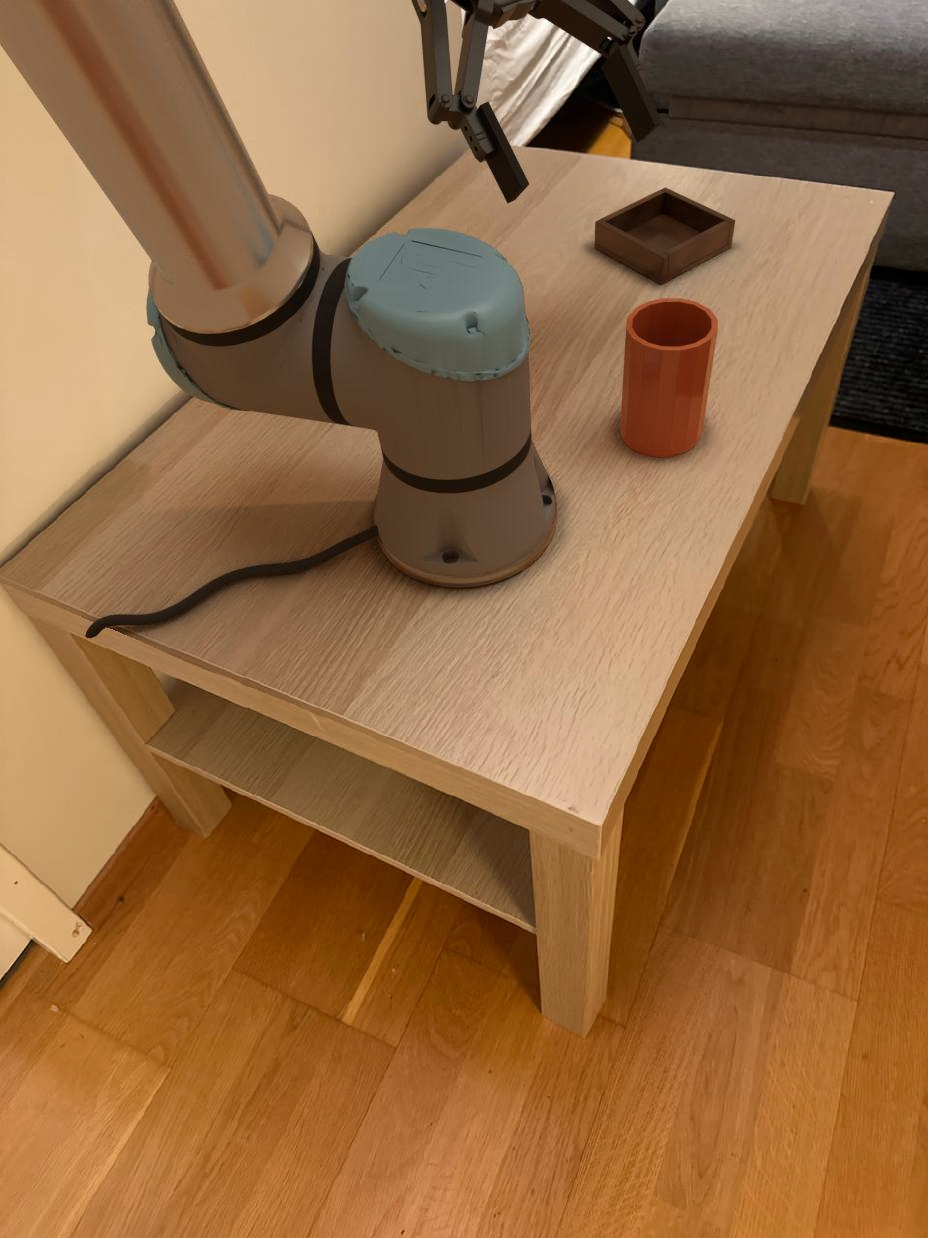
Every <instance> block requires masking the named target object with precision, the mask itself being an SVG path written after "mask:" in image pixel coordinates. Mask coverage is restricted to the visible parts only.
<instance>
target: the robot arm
mask: <svg viewBox="0 0 928 1238" xmlns="http://www.w3.org/2000/svg"><path fill="white" fill-rule="evenodd" d="M410 1H411V4H412V6H413V8H414V12H415V14H416V16H417V19H418V21H419V24H420V38H421V49H422V65H423V76H424V91H425V102H426V103H425V106H426V116H427V120H428V122H430V124H432V125H434V126H438V125H440V124H441V123H442V122H446V123H447V125H448V127H449V128H450V129H451V130H453V131H461V132H462V135H463V138H464V139H465V141H466V143H467V145H468V147H469V149H470V150H471V153H472V155H473V157H474V158H475V159H476V160H477V162H479V163H480V164H482V163H483V162H485V163H486V164H487V166H488V168H489V170H490V173H491V174H492V177H493V178H494V180H495V182H496V183H497V186H498V188H499V190H500V192H501V194H502V196H503V198H504V200H505V201H506V204H510V203H512V202H514V201H516V200H517V199H518V198H519V197H520V196H521V194H522V193H523V192H524V191H525V190H526V189H527V188H528V186H530V182H529V180H528V178H527V176H526V174H525V172H524V170H523V167H522V166H521V164H520V162H519V160H518V158H517V156H516V154H515V152H514V150H513V148H512V146H511V144H510V142H509V140H508V138H507V135H506V133H505V132H504V130H503V127H502V126H501V124H500V122H499V120H498V118H497V116H496V114H495V112H494V110H493V107H492V106H491V104H490V102H489V101H486V102H484V103H481V104H480V105H479V106H478V107H477V103H478V98H479V90H480V86H481V85H480V84H481V77H482V72H483V66H484V58H485V54H486V53H485V52H486V47H487V39H488V33H489V27H492V29H493V30H496V29H498V28H502V26H504V25H505V24H506V23H508V22H510V21H511V22H512V21H519V20H522V19H525V18H526V16H527V15H529V16H531V17H532V18H534V19H536V20H542V19H543V20H546V21H548V22H549V23H551V24H552V25H554V26H555V27H557V28H558V29H560V30H562V31H563V32H565V33H566V34H568V35H569V36H571V37H573V38H574V39H576V40H577V41H579V42H581V43H582V44H583V45H585V46H587V47H588V48H590V49H591V50H592V51H594V52H597V54H600V55H601V56H603V58H605V59H606V61H605V62H604V63H603V64H602V65H601V69H602V71H603V74H604V76H605V78H606V80H607V82H608V84H609V87H610V89H611V91H612V94H613V95H614V98H615V99H616V101H617V104H618V105H619V108H620V111H621V112H622V114H623V116H624V119H625V121H626V123H627V125H628V127H629V129H630V131H631V134H632V135H633V138H634V139H635V141H636V144H637V143H640V142H642V141H644V140H646V139H647V138H648V136H650V135H651V134H652V133H653V132H654V131H655V130H656V129H657V128H658V127H659V126H660V125H662V124H663V122H662V119H661V117H660V115H659V113H658V111H657V109H656V106H655V104H654V102H653V100H652V98H651V96H650V93H649V92H648V89H647V87H646V85H648V77H647V73H646V71H645V69H644V67H643V65H642V63H641V60H640V59H639V56H638V54H637V52H636V50H635V47H634V46H633V45H634V44H633V41H634V38H636V36H637V35H638V34H639V32H640V31H641V30H642V29H643V27H644V26H645V24H646V18H645V16H644V15H643V14H642V12H640V10H639V9H637V7H636V6H635V5H634V4H633V3H632V2H631V1H630V0H410ZM449 1H450V2H452V3H453V4H454V5H456V6H457V7H458V8H460V9H461V10H463V12H464V18H463V25H462V30H461V39H462V40H461V47H460V53H459V58H458V59H459V60H458V66H457V71H456V78H455V85H454V91H453V79H452V67H451V66H452V65H451V54H450V40H449V26H448V25H449V24H448V13H447V12H448V11H447V6H446V5H447V4H448V2H449ZM180 12H181V11H180V10H179V8H178V6H177V4H176V2H175V0H0V46H1V48H2V50H4V52H5V54H6V55H7V56H8V58H9V59H10V61H11V63H12V64H13V65H14V66H15V68H16V69H17V71H18V72H19V74H20V75H21V77H22V78H23V79H24V80H25V82H26V84H27V85H28V86H29V88H30V90H32V92H33V93H34V95H35V96H36V98H37V99H38V101H39V102H40V103H41V105H42V106H43V108H44V109H45V111H46V112H47V114H48V115H49V116H50V117H51V119H52V121H53V122H54V123H55V125H56V126H57V128H58V130H59V131H60V132H61V134H62V135H63V136H64V138H65V139H66V141H67V142H68V143H69V145H70V146H71V148H72V149H73V150H74V152H75V153H76V155H77V156H78V157H79V159H80V160H81V162H82V164H83V165H84V167H86V169H87V171H89V173H90V175H91V176H92V178H93V179H94V181H95V182H96V183H97V185H98V186H99V187H100V189H101V191H102V192H103V193H104V195H105V196H106V198H107V199H108V200H109V202H110V204H111V205H112V206H113V208H114V209H115V210H116V212H117V213H118V215H119V216H120V218H121V219H122V221H123V222H124V223H125V225H126V226H127V228H128V229H129V230H130V232H131V233H132V235H133V236H134V237H135V239H136V240H137V242H138V244H139V245H140V246H141V248H142V249H143V250H144V252H145V254H146V255H147V256H148V257H149V259H150V260H151V262H150V265H149V268H148V275H147V276H148V278H147V279H148V282H147V283H148V290H147V296H146V306H145V309H146V310H145V311H146V321H147V322H146V323H147V325H148V326H151V327H153V329H154V335H153V336H152V337H151V339H150V341H151V345H152V348H153V351H154V353H155V355H156V358H157V359H158V362H159V364H160V365H161V367H162V369H163V370H164V372H165V373H166V374H167V376H168V377H169V378H170V379H171V381H172V382H173V383H174V384H175V385H176V386H178V387H179V388H180V390H182V391H183V392H185V393H186V394H188V395H189V396H191V397H192V398H193V397H194V398H195V399H197V400H200V401H203V402H206V403H211V404H214V405H216V406H218V407H219V408H223V409H229V410H230V411H239V412H241V411H242V412H254V413H261V414H267V415H274V416H281V417H287V418H294V419H302V420H309V421H315V422H322V423H329V424H334V425H340V426H341V425H342V426H349V427H354V428H360V429H367V430H372V431H375V432H376V433H377V437H378V441H379V445H380V450H381V456H382V464H381V469H380V472H379V473H380V474H379V479H378V484H377V485H378V486H377V492H376V496H375V499H374V504H373V521H374V525H372V526H371V527H368V528H366V529H364V530H362V531H360V532H358V533H356V534H353V535H350V536H349V537H347V538H344V539H343V540H341V541H338V542H337V543H335V544H333V545H331V546H329V547H327V548H325V549H324V550H321V551H319V552H318V553H315V554H313V555H311V556H308V557H304V558H301V559H296V560H291V561H287V562H286V561H284V562H275V563H265V564H257V565H250V566H246V567H241V568H238V569H235V570H232V571H229V572H226V573H224V574H222V575H220V576H218V577H215V578H214V579H211V581H209V582H207V583H205V584H203V585H202V586H201V587H200V588H197V590H194V592H192V593H191V594H189V595H188V596H186V597H185V598H183V599H182V600H180V601H178V602H177V603H174V604H173V605H170V606H168V607H166V608H164V609H161V610H159V611H154V612H150V613H140V614H138V613H136V614H135V613H134V614H133V613H132V614H131V613H129V614H128V613H118V614H116V613H115V614H109V615H106V616H103V617H100V618H98V619H97V620H95V621H94V622H92V624H90V626H89V627H88V628H87V630H86V632H85V634H84V635H85V638H86V639H93V638H96V637H98V635H99V634H100V633H101V632H102V631H103V630H104V629H106V628H110V627H116V626H118V627H119V626H126V627H127V626H128V627H129V626H133V627H134V626H135V627H136V626H138V627H141V626H150V625H156V624H160V623H164V622H166V621H168V620H171V619H173V618H176V617H178V616H179V615H182V614H183V613H185V612H187V611H189V610H190V609H192V608H194V606H196V605H198V604H199V603H201V602H202V601H203V600H205V599H206V598H208V597H209V596H211V595H212V594H214V593H215V592H217V591H219V590H221V589H222V588H224V587H226V586H228V585H231V584H234V583H236V582H240V581H242V580H246V579H251V578H254V577H255V578H256V577H264V576H273V575H284V574H290V573H296V572H297V573H298V572H301V571H305V570H308V569H312V568H314V567H317V566H320V565H322V564H324V563H327V562H328V561H329V560H331V559H333V558H335V557H337V556H339V555H341V554H342V553H344V552H346V551H349V550H352V549H353V548H356V547H357V546H359V545H361V544H364V543H366V542H368V541H370V540H373V539H375V538H377V541H378V544H379V547H380V549H381V551H382V553H383V554H384V556H385V557H386V559H387V560H388V561H389V562H390V563H391V564H392V565H393V566H394V567H395V568H396V569H398V570H399V571H400V572H402V573H403V574H405V575H407V576H408V577H410V578H413V579H415V580H417V581H420V582H422V583H425V584H429V585H433V586H439V587H445V588H474V587H481V586H485V585H490V584H493V583H497V582H500V581H502V580H506V579H508V578H510V577H512V576H514V575H517V574H518V573H520V572H522V571H523V570H525V569H526V568H527V567H529V566H531V564H533V563H534V562H535V561H536V560H537V559H538V558H539V557H540V556H541V555H542V554H543V552H544V551H545V550H546V549H547V548H548V546H549V545H550V543H551V541H552V540H553V537H554V534H555V531H556V527H557V519H558V509H557V508H558V507H557V497H556V493H555V492H558V490H557V487H556V485H555V483H554V481H553V478H552V476H551V473H550V471H549V470H548V468H547V465H546V463H545V461H544V460H542V458H541V456H540V454H539V452H538V450H537V448H536V445H535V444H534V442H533V437H532V436H533V435H532V409H531V379H530V377H531V375H530V354H529V353H530V348H531V340H532V339H531V329H530V327H529V325H530V322H529V319H528V316H527V311H526V310H527V309H526V300H525V291H524V287H523V283H522V280H521V277H520V275H519V273H518V271H517V269H515V267H514V266H513V265H512V264H510V263H509V261H508V259H507V258H506V256H504V254H503V253H502V252H501V251H499V249H497V248H496V247H494V246H492V245H491V244H489V243H488V242H486V241H484V240H482V239H479V238H477V237H475V236H473V235H469V234H467V233H463V232H460V231H455V230H450V229H444V228H443V229H442V228H434V227H418V228H417V227H415V228H409V229H408V230H407V231H406V233H405V234H403V233H402V234H401V233H398V232H396V231H391V232H388V233H386V234H383V235H380V236H377V237H375V238H374V239H371V240H370V241H368V242H367V243H366V244H363V246H361V247H360V248H359V249H357V251H356V252H355V253H354V255H353V256H352V257H351V256H344V255H343V256H342V255H332V254H326V253H325V252H323V251H322V250H321V249H320V246H319V244H318V241H317V239H316V237H315V236H314V233H313V231H312V229H311V227H310V225H309V223H308V221H307V219H306V217H305V215H303V213H302V211H300V210H299V209H298V207H297V206H296V205H294V204H293V203H291V202H290V201H288V200H286V199H285V198H283V197H281V196H279V195H276V194H271V193H269V192H268V190H267V188H266V186H265V184H264V182H263V180H262V178H261V176H260V174H259V171H258V170H257V168H256V165H255V164H254V162H253V159H252V158H251V156H250V153H249V151H248V149H247V148H246V145H245V143H244V141H243V139H242V137H241V135H240V133H239V131H238V129H237V127H236V125H235V123H234V121H233V118H232V117H231V115H230V113H229V111H228V108H227V107H226V104H225V101H224V100H223V98H222V96H221V94H220V92H219V90H218V87H217V86H216V84H215V82H214V80H213V78H212V75H211V74H210V72H209V70H208V68H207V66H206V64H205V61H204V60H203V57H202V55H201V53H200V51H199V49H198V47H197V45H196V43H195V41H194V39H193V37H192V35H191V33H190V30H189V29H188V26H187V25H186V23H185V21H184V19H183V16H182V14H181V13H180ZM493 30H492V31H493Z"/></svg>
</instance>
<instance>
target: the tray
mask: <svg viewBox="0 0 928 1238" xmlns="http://www.w3.org/2000/svg"><path fill="white" fill-rule="evenodd" d="M735 227H736V219H735V218H732V217H729V216H727V215H725V214H724V213H721V212H719V211H717V210H715V209H712V208H710V207H708V206H707V205H704V204H702V203H700V202H698V201H695V200H694V199H691V198H690V197H687V196H685V195H682V194H680V193H679V192H676V191H674V190H673V189H670V188H669V187H663V188H661V189H658V190H656V191H655V192H653V193H650V194H649V195H646V196H644V197H642V198H640V199H638V200H635V201H634V202H631V203H630V204H628V205H626V206H624V207H622V208H620V209H618V210H616V211H614V212H611V213H609V214H608V215H605V216H604V217H601V218H599V219H597V220H595V222H594V245H593V248H594V249H596V250H597V251H599V252H601V253H602V254H604V255H606V256H608V257H610V258H612V259H614V260H616V261H617V262H619V263H621V264H623V265H624V266H626V267H628V268H630V269H632V270H633V271H635V272H637V273H639V274H641V275H642V276H645V277H646V278H647V279H649V280H651V281H653V282H655V283H657V284H659V285H663V284H666V283H668V282H669V281H671V280H673V279H675V278H677V277H678V276H680V275H682V274H684V273H686V272H687V271H690V270H691V269H693V268H696V267H697V266H699V265H701V264H703V263H704V262H707V261H709V260H710V259H712V258H714V257H715V256H718V255H719V254H722V253H724V252H725V251H728V250H729V249H731V248H732V246H733V240H734V233H735Z"/></svg>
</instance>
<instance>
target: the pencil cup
mask: <svg viewBox="0 0 928 1238" xmlns="http://www.w3.org/2000/svg"><path fill="white" fill-rule="evenodd" d="M625 322H626V323H625V335H624V336H625V339H624V352H623V353H624V356H623V373H622V389H621V406H620V408H621V409H620V424H619V433H620V436H621V439H622V440H623V442H624V443H625V444H626V446H627V447H628V448H630V449H631V450H633V451H635V452H637V453H639V454H642V455H645V456H649V457H655V458H668V457H675V456H679V455H682V454H684V453H686V452H688V451H690V450H692V449H693V448H694V447H695V446H696V445H697V444H698V443H699V442H700V439H701V438H702V434H703V431H704V423H705V417H706V410H707V404H708V397H709V390H710V383H711V377H712V371H713V364H714V358H715V352H716V351H715V350H716V344H717V338H718V332H719V331H718V329H719V324H718V323H719V322H718V318H717V316H716V315H715V314H714V312H713V311H712V309H710V308H709V307H707V306H705V305H703V304H702V303H700V302H698V301H694V300H690V299H686V298H682V297H681V298H680V297H679V298H678V297H677V298H676V297H664V298H658V299H653V300H650V301H646V302H644V303H643V304H641V305H638V306H637V307H635V308H634V309H633V310H632V311H631V312H630V313H629V314H628V315H627V317H626V321H625Z"/></svg>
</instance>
